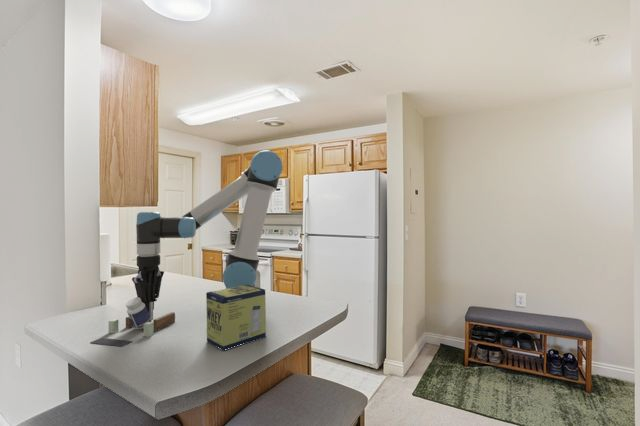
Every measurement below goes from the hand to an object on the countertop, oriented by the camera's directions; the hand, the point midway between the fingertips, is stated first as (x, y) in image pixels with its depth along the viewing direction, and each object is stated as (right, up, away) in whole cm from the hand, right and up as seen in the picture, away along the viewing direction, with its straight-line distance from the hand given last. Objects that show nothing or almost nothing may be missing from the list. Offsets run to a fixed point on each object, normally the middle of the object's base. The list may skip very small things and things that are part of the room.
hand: (148, 319), depth 117 cm
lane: (+1, -2, 0) cm, 2 cm away
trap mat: (-3, -2, -16) cm, 17 cm away
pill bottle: (0, -1, -3) cm, 3 cm away
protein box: (+35, -2, -15) cm, 38 cm away
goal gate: (-1, -2, -9) cm, 9 cm away
